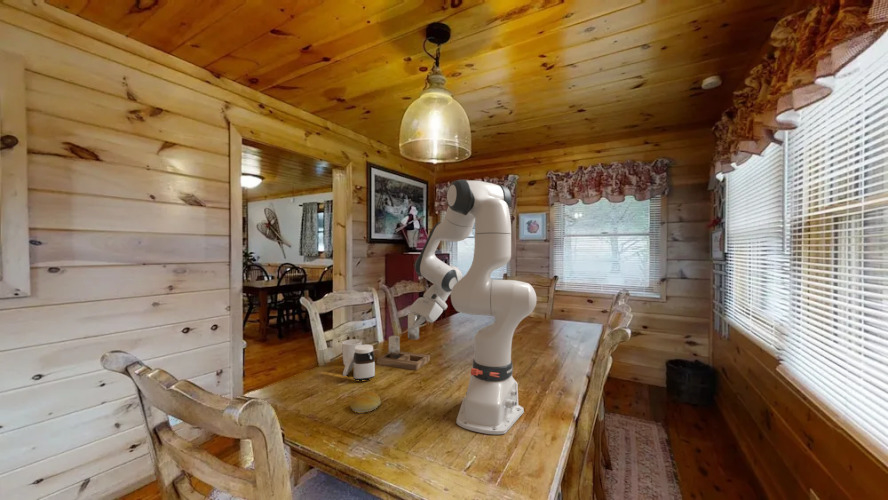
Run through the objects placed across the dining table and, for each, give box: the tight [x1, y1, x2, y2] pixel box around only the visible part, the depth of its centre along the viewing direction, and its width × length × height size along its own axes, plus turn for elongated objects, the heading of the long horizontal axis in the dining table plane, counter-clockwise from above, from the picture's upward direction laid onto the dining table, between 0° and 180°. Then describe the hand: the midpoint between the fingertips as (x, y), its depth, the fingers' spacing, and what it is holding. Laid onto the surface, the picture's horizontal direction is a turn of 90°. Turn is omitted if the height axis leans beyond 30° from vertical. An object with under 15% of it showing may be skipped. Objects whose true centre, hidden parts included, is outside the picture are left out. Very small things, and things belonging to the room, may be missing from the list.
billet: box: [407, 312, 420, 341], centre depth 137 cm, size 4×4×10 cm
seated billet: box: [388, 335, 401, 359], centre depth 141 cm, size 4×4×10 cm
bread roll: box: [350, 391, 382, 413], centre depth 103 cm, size 8×9×4 cm
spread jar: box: [342, 344, 376, 381], centre depth 126 cm, size 12×11×12 cm
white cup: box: [341, 338, 363, 367], centre depth 138 cm, size 8×8×10 cm
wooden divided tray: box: [376, 350, 431, 371], centre depth 139 cm, size 12×18×3 cm, turn 67°
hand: (412, 324), depth 137 cm, fingers closed on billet, 4 cm apart
